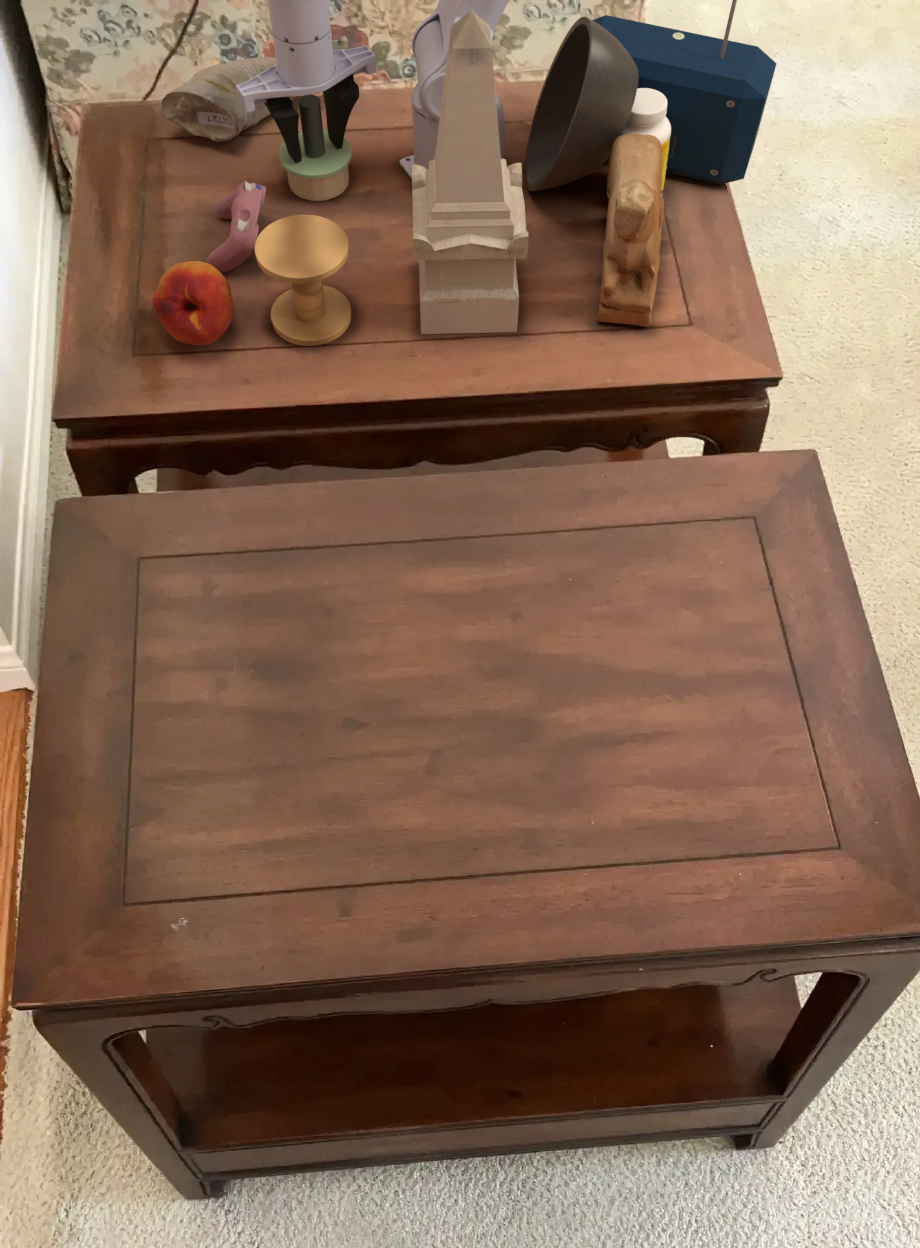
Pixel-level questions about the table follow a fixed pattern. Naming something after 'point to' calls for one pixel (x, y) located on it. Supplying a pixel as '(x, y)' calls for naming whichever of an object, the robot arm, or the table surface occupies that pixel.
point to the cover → (315, 146)
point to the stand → (305, 277)
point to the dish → (319, 186)
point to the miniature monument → (468, 201)
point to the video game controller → (238, 225)
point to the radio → (701, 94)
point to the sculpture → (632, 231)
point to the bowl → (580, 107)
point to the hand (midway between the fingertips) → (315, 149)
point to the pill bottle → (649, 123)
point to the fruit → (194, 302)
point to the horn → (220, 98)
